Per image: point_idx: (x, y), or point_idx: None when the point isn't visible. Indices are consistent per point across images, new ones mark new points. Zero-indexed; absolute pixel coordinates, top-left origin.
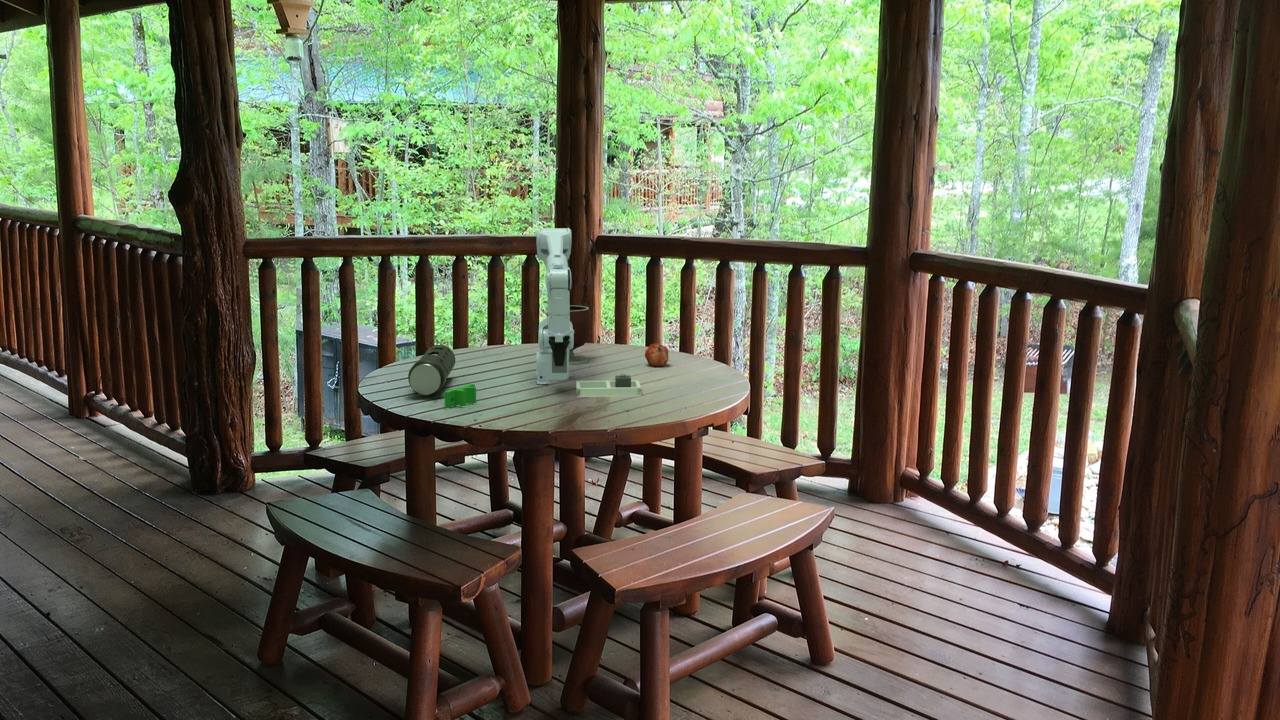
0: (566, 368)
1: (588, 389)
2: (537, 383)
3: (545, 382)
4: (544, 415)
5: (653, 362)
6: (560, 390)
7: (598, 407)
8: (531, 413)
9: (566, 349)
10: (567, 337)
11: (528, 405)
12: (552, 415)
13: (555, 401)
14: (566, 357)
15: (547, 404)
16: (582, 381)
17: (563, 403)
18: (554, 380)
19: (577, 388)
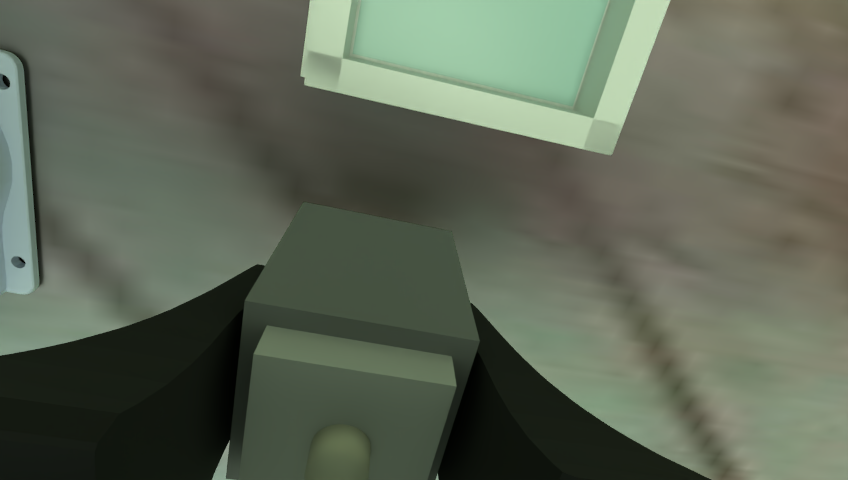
0: (456, 253)
1: (644, 56)
2: (34, 289)
3: (16, 240)
4: (818, 369)
5: None
6: (233, 173)
7: (825, 36)
8: (746, 414)
9: (597, 419)
10: (108, 476)
11: (580, 404)
12: (841, 336)
13: (544, 265)
14: (469, 315)
15: (598, 318)
16: (341, 32)
17: (613, 232)
18: (2, 183)
19: (602, 146)
